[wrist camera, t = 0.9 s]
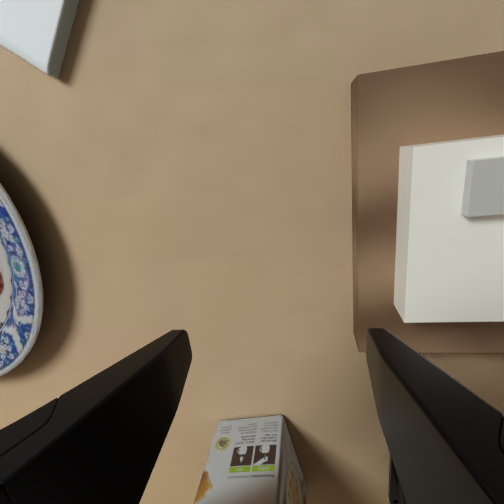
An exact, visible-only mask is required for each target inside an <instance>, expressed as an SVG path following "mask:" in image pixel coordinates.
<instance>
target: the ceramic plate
mask: <svg viewBox="0 0 504 504" xmlns="http://www.w3.org/2000/svg"><path fill="white" fill-rule="evenodd" d="M42 316H43V287H42V278H41V273H40V269H39V264H38V260H37V257H36V254H35V250H34V247H33V244H32V242H31V239H30V237H29V234H28V232H27V229H26V227H25V225H24V223H23V221H22V219H21V217H20V215H19V213H18V211H17V209H16V207H15V205H14V204H13V202H12V200H11V198H10V197H9V195H8V194H7V192H6V190H5V189H4V187H3V186H2V184H1V183H0V376H2V375H4V374H6V373H8V372H9V371H11V370H12V369H14V368H15V367H16V366H17V365H19V364H20V363H21V362H22V361H23V359H24V358H25V357H26V356H27V354H28V353H29V352H30V351H31V349H32V347H33V345H34V343H35V342H36V339H37V336H38V334H39V331H40V327H41V322H42Z"/></svg>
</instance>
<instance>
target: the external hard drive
mask: <svg viewBox="0 0 504 504" xmlns="http://www.w3.org/2000/svg"><path fill="white" fill-rule="evenodd" d="M78 4H79V0H0V45H2V46H4V47H5V48H7V49H8V50H10V51H11V52H13V53H15V54H16V55H18V56H19V57H21V58H23V59H24V60H26V61H27V62H29V63H30V64H32V65H33V66H35V67H36V68H38V69H40V70H41V71H43V72H44V73H46V74H47V75H50V76H54V77H59V74H60V70H61V67H62V63H63V59H64V55H65V52H66V48H67V44H68V41H69V37H70V33H71V30H72V26H73V22H74V18H75V15H76V11H77V7H78Z"/></svg>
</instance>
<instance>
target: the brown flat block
mask: <svg viewBox="0 0 504 504" xmlns="http://www.w3.org/2000/svg"><path fill="white" fill-rule="evenodd" d="M351 130H352V225H353V321H354V336H355V339H356V343H357V347H358V351H359V352H366V345H367V330H368V328H384V329H386V330H387V331H389V332H390V333H391V334H393V335H394V336H395V337H397V338H398V339H400V340H401V341H402V342H404V343H405V344H407V345H408V346H409V347H411V348H412V349H413V350H415V351H416V352H418V353H504V321H499V322H424V323H404V322H403V320H402V318H401V316H400V315H399V313H398V311H397V309H396V308H395V306H394V282H395V256H396V230H397V205H398V179H399V153H400V147H401V146H409V145H418V144H426V143H435V142H443V141H452V140H460V139H469V138H477V137H486V136H494V135H503V134H504V51H501V52H495V53H489V54H483V55H476V56H470V57H464V58H458V59H452V60H446V61H440V62H434V63H428V64H421V65H415V66H409V67H403V68H397V69H391V70H385V71H379V72H373V73H367V74H360V75H357V77H356V78H355V79H354V80H353V82H352V83H351Z"/></svg>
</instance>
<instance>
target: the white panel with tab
mask: <svg viewBox="0 0 504 504" xmlns="http://www.w3.org/2000/svg"><path fill="white" fill-rule="evenodd" d="M394 306H395V308H396V309H397V311H398V313H399V315H400V316H401V318H402V320H403V322H404V323H424V322H499V321H504V134H503V135H494V136H486V137H477V138H469V139H460V140H452V141H443V142H435V143H426V144H418V145H409V146H401V147H400V153H399V179H398V205H397V230H396V256H395V282H394Z"/></svg>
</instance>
